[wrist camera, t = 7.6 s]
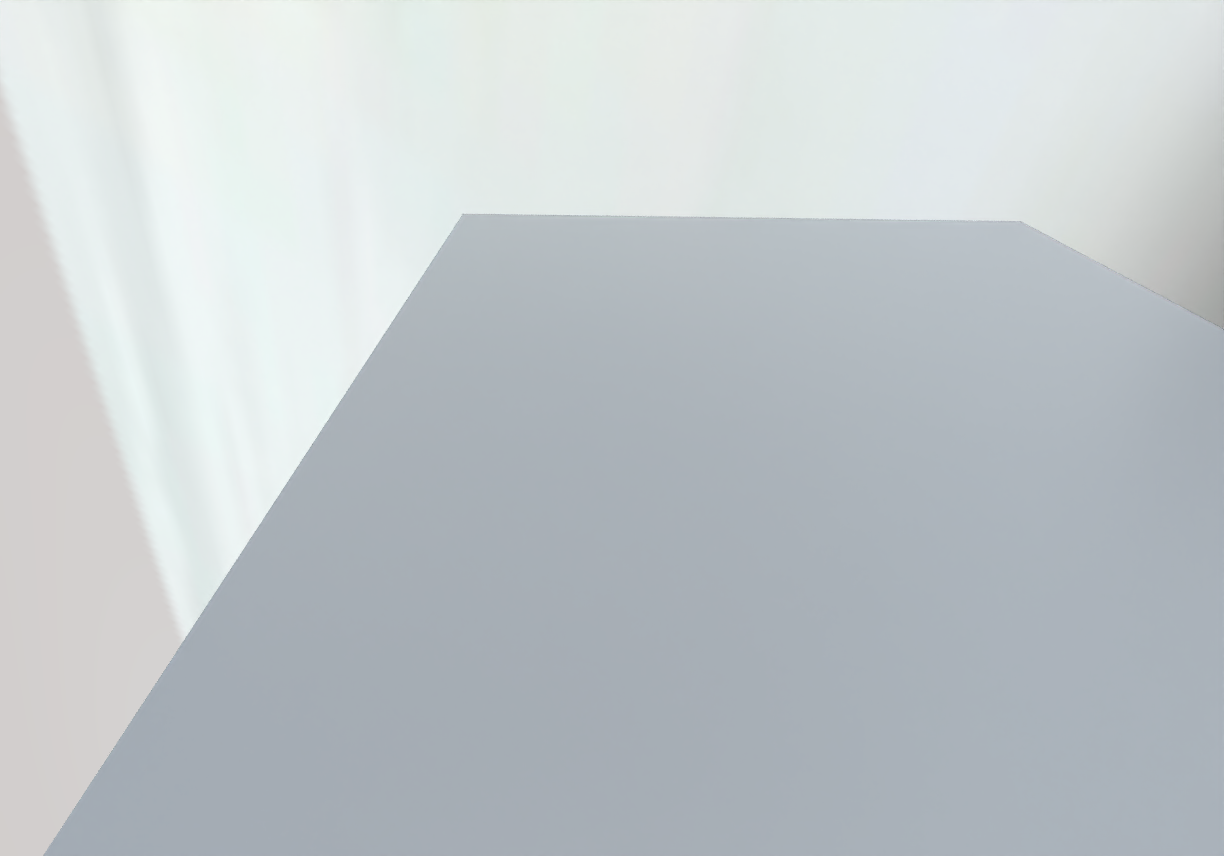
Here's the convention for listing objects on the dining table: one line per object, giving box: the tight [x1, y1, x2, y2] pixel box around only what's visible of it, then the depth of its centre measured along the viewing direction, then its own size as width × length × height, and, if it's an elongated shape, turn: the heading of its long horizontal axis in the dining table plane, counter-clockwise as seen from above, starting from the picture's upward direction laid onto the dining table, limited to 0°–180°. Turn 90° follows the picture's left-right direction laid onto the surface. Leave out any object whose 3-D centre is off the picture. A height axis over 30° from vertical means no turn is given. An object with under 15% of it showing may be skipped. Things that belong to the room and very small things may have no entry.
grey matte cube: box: [43, 214, 1224, 856], centre depth 8 cm, size 8×8×9 cm
